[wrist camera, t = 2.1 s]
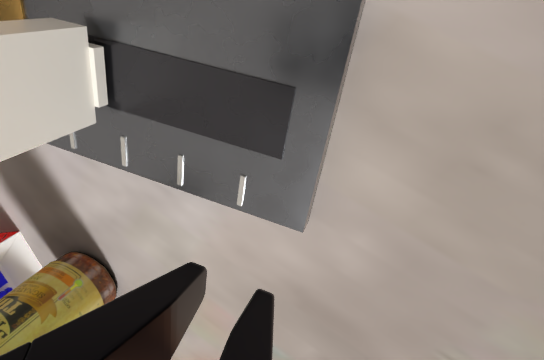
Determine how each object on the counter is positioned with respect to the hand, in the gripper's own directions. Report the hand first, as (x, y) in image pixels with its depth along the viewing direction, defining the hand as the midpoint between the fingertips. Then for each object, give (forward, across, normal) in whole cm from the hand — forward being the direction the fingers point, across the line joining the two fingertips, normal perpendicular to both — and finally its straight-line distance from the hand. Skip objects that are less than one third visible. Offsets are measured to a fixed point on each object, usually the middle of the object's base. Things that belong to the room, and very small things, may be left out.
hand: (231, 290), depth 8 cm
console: (+12, +12, 0) cm, 17 cm away
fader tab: (+10, +14, 0) cm, 17 cm away
